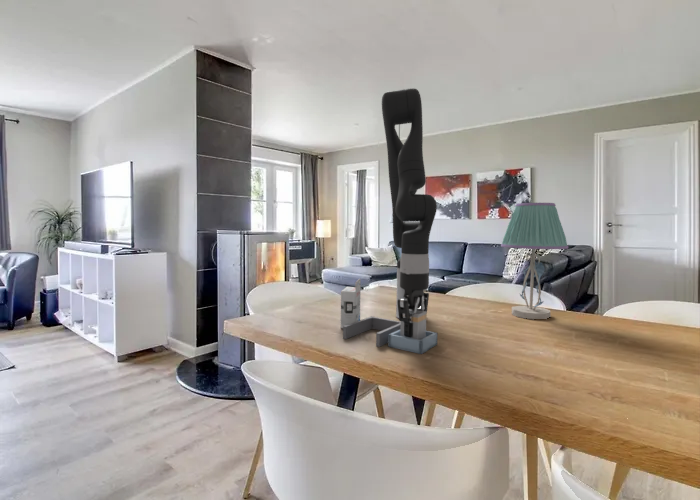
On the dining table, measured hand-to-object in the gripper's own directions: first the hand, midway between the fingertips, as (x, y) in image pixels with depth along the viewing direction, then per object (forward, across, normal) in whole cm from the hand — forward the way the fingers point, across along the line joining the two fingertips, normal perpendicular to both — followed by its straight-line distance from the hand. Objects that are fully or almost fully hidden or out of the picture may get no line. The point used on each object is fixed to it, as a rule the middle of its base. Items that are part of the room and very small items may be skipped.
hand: (413, 333), depth 100 cm
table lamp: (+3, -57, +18) cm, 60 cm away
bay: (+3, 0, -12) cm, 13 cm away
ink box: (+3, -6, -25) cm, 26 cm away
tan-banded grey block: (+2, 0, 0) cm, 2 cm away
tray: (+3, 0, 0) cm, 3 cm away
